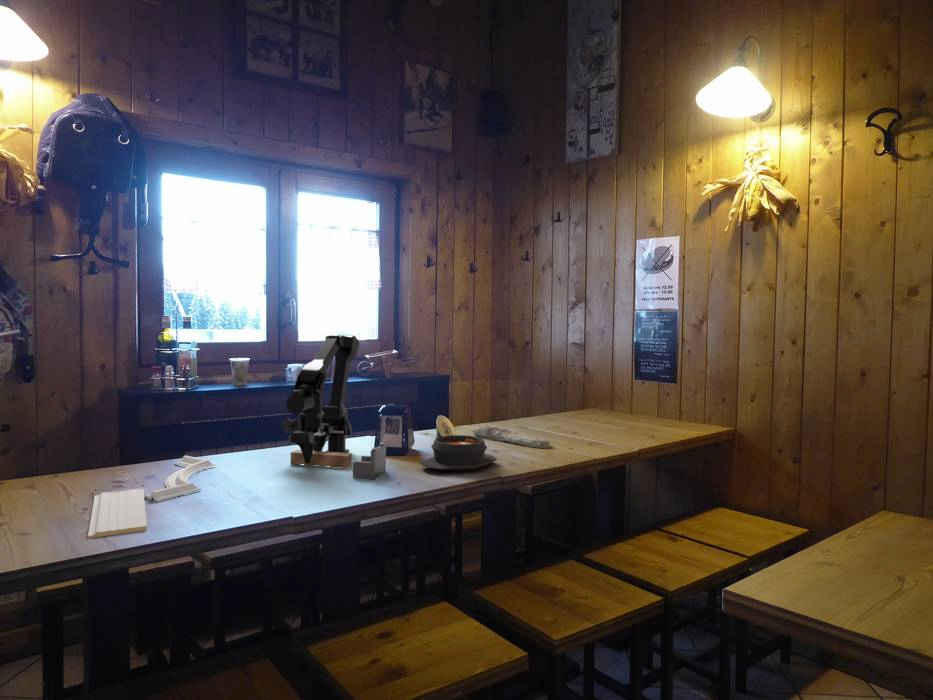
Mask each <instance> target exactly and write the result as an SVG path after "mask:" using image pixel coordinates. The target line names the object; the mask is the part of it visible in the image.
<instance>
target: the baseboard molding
mask: <svg viewBox="0 0 933 700" xmlns="http://www.w3.org/2000/svg"><path fill="white" fill-rule="evenodd" d="M132 487H133V488H134V487H136V486H135V485H133V486H131V488H132ZM141 487H142V488H137V489H136V488H134V489H126V490H115V491H109V492H108V491H107V492H104V491H103V492H101V493H99V494H98V495H94V493H93V492H91V494H90V493H89V494H88V495H89V496H91V499H92V498H93V503H92V509H91V516H90V520H89V521H90V522H89V526H88V533H87V539H92V538H99V537H107V536H113V535H114V536H115V535H121V534H129V533H130V534H131V533H137V532H144V531H145V532H146V531H147V529H148V524H147V523H148V521H147V512H146V503H145V500H146V499H144V496H145V491H144V488H143V487H144V484H142V485H141ZM117 488H122V489H123V488H126V486H125V487H124V486H123V484H121V485H117ZM112 489H116V485H113V487H112V488H111V490H112ZM100 490H101V491H102V490H105V488H102V489H100ZM94 491H95V492H97V489H95V490H94Z"/></svg>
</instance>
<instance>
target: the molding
mask: <svg viewBox="0 0 933 700" xmlns="http://www.w3.org/2000/svg"><path fill="white" fill-rule="evenodd" d="M174 464H178V465H182V466H187V467H185V468H184V467H182V468H181V469H179V470H176V471H175V472H173V473H172V474H170V475H169V476H168V477H167V478H166V479H165V482H164V486H166V487H165V488H162V489H159V490H158V489H157V490H154V491H151V492H150V493H148V494H144V498H146V499H145V500H148V499H149V500H148V501H153V502H155V501H157V502H156V503H160V502H159V501H161V502H164V501H163V500H165V501H167V500H166V499H169V500H171V499H170V498H173V497H176V496H180V495H183V494H186V493H190V492H194V491H198V490H202V489H201V488H200V487H197V486H196V485H195V484H194V483H193V482H190V481H189V480H188V478H189V477H190V476H191V475H192V474H194V473H195V472H198V471H200V470H202V469H205V468H208V467H211V466H215V465H216V464H214V463H212V462H211V461H210V460H209V459H205V458H199V457H195V456H189V455H184V456H182V459H181V461H180V460H179V461H175V462H174V463H173V465H174ZM190 478H191V477H190ZM190 478H189V479H190ZM180 497H181V496H180ZM176 498H177V497H176ZM152 499H153V500H152ZM173 499H174V498H173Z"/></svg>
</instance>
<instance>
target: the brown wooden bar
mask: <svg viewBox="0 0 933 700" xmlns="http://www.w3.org/2000/svg"><path fill="white" fill-rule="evenodd" d="M291 464H304V465H303V466H305V465H319V466H330V467H329V468H332V467H342V468H341V469H346V468H347V467H348V468H350V467H351V465H352V466H353V453H351V452H346V453H340V452H325V450H324V451H323V450H322V451H314V450H313V453H312V456H311V459H310V462H309V463H308V464H307V463H305V461H304V457H303V454H302V451H301V449H295V450H293V451H291V452H290V465H291ZM349 466H350V467H349ZM348 468H347V469H348Z"/></svg>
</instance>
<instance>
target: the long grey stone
mask: <svg viewBox="0 0 933 700" xmlns="http://www.w3.org/2000/svg"><path fill="white" fill-rule="evenodd" d="M472 433H473V435H475V436H476V437H477V436H478V438H481V439H487V440H489V441H498V442H507V443H510V444H516V445H521V446H522V447H523V446H524V447H527V448H537V449H549V448H551V446H550V445H551V443H550V440H549V439H545V438H544V437H537V436H532V435H528V434H522V433H518V432H515V431H513V430H511V429H509V428H506V427H503V428H501V427H500V428H499V427H497V426H491V425H487V424H486V425H483V426H478V427H476V426H475V427H474V428H473V429H472Z"/></svg>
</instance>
